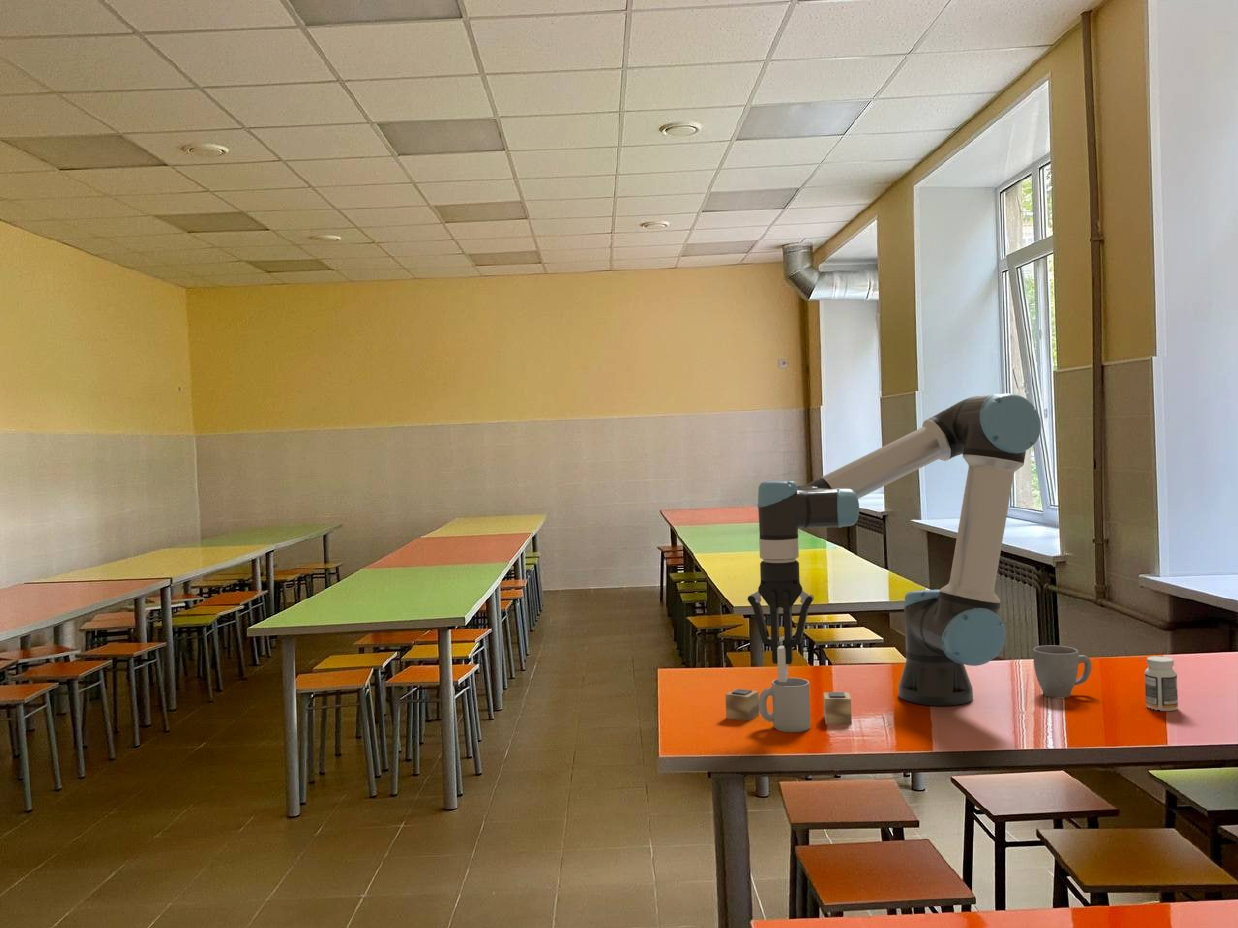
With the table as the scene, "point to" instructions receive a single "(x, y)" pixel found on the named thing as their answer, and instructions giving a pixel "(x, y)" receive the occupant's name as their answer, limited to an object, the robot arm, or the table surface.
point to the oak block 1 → (742, 704)
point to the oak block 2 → (837, 708)
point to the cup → (787, 705)
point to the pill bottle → (1161, 684)
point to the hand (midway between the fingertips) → (783, 680)
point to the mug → (1059, 669)
